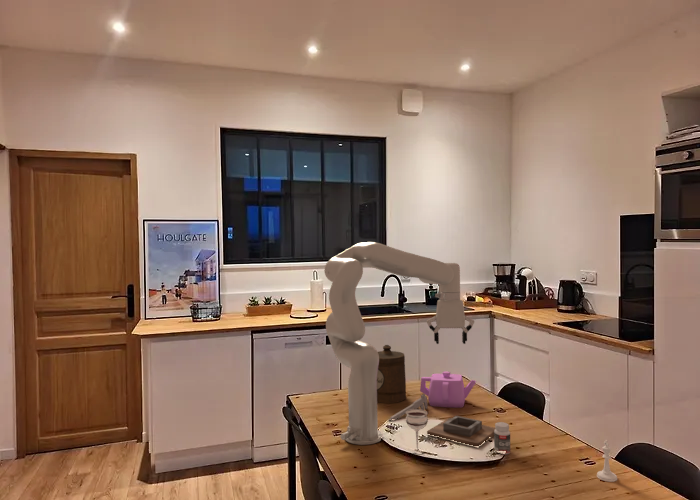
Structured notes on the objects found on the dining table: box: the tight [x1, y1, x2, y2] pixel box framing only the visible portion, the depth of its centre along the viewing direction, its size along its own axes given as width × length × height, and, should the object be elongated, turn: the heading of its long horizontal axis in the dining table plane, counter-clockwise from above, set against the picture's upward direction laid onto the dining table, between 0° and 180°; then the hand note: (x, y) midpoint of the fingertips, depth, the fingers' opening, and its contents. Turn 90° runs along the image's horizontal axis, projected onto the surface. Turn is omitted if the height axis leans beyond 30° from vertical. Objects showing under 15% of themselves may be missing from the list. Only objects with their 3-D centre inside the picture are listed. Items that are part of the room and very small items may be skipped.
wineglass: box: [405, 408, 429, 450], centre depth 155 cm, size 7×7×12 cm
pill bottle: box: [493, 421, 511, 455], centre depth 154 cm, size 5×5×8 cm
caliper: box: [388, 393, 428, 420], centre depth 189 cm, size 20×1×6 cm, turn 131°
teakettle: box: [419, 370, 477, 408], centre depth 202 cm, size 17×17×12 cm
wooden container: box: [377, 344, 407, 404], centre depth 210 cm, size 15×15×22 cm
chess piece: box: [596, 439, 618, 483], centre depth 136 cm, size 5×5×10 cm
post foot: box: [426, 415, 495, 446], centre depth 168 cm, size 16×18×4 cm
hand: (450, 343), depth 185 cm, fingers open, 9 cm apart
